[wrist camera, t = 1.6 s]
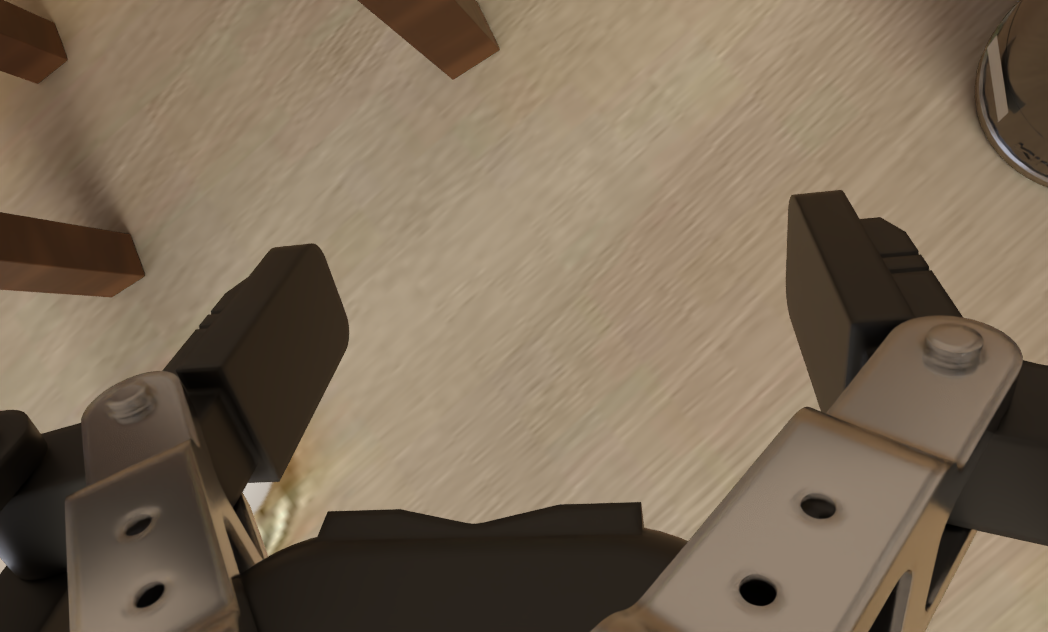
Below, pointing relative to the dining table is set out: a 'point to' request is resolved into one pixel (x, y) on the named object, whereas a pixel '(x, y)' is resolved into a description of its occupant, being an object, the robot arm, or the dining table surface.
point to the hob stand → (110, 257)
